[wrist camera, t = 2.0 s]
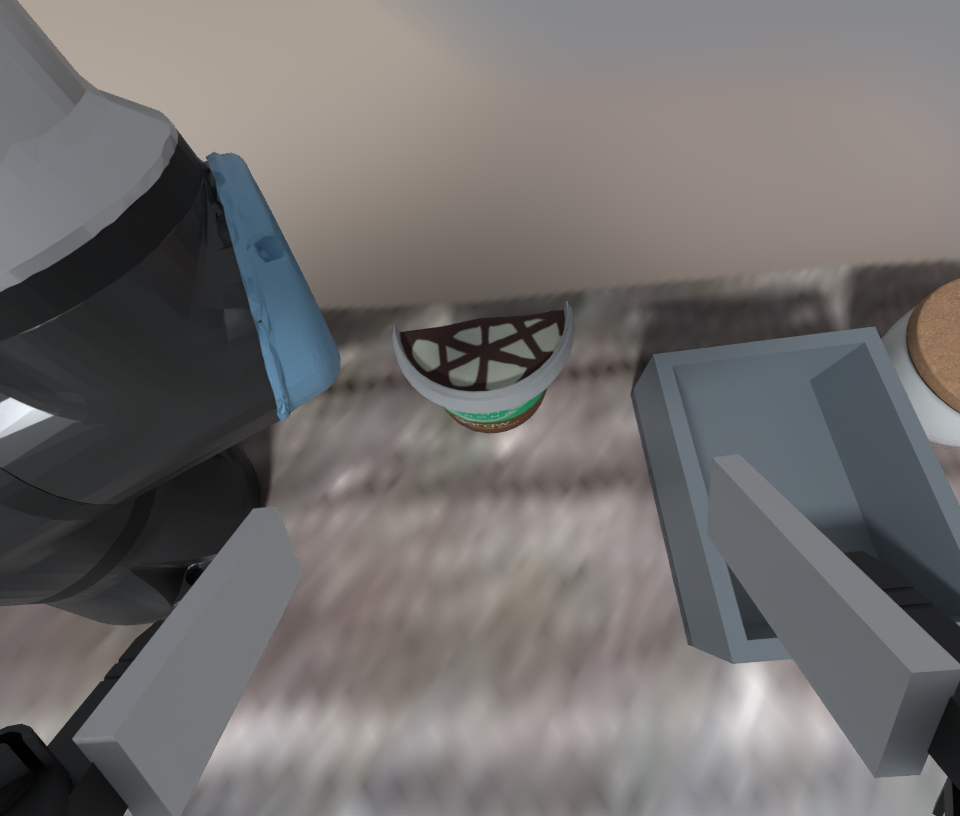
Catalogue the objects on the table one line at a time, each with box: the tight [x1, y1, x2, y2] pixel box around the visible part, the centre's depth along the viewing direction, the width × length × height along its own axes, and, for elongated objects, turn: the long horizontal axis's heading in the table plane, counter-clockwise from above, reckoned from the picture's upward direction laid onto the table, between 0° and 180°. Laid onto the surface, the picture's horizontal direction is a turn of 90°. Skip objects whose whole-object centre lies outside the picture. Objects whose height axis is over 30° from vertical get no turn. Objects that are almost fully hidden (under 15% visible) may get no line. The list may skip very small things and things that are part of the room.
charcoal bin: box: [631, 326, 960, 664], centre depth 29 cm, size 14×18×7 cm
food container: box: [392, 300, 574, 433], centre depth 32 cm, size 12×6×10 cm, turn 95°
